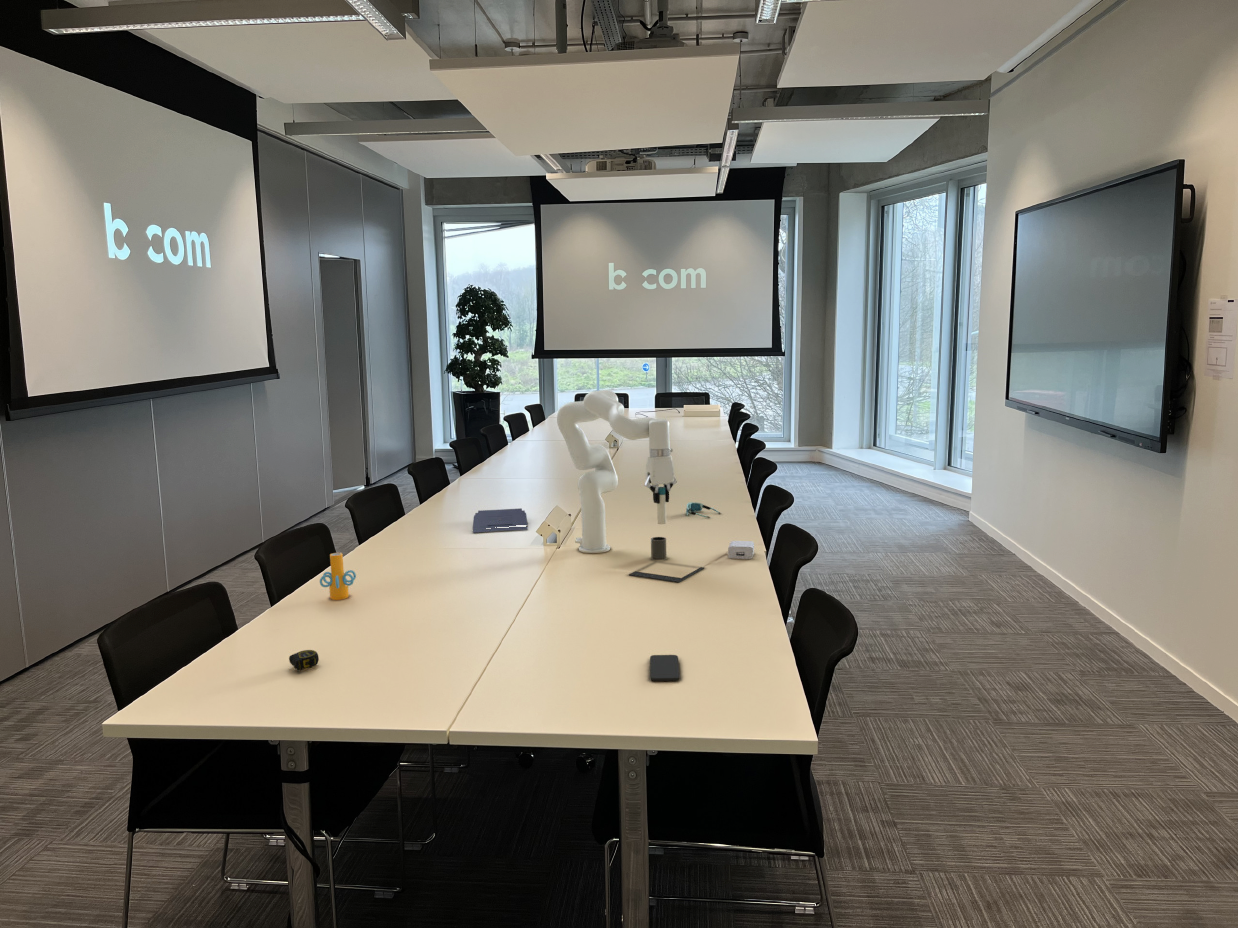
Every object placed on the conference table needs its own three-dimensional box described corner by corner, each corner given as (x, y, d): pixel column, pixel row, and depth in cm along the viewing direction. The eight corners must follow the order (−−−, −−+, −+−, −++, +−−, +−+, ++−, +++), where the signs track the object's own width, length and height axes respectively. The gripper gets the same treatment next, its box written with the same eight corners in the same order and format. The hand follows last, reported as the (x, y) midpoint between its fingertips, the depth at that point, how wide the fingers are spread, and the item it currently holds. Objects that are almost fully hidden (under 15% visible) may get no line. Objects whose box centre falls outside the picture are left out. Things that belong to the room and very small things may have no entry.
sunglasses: (695, 509, 410) (696, 499, 408) (722, 517, 401) (723, 507, 400) (680, 515, 398) (681, 505, 397) (707, 522, 390) (708, 512, 389)
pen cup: (648, 560, 323) (648, 539, 321) (656, 556, 328) (655, 536, 326) (661, 561, 320) (661, 541, 318) (669, 558, 325) (668, 537, 323)
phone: (650, 678, 210) (649, 654, 225) (650, 681, 211) (650, 657, 225) (680, 677, 210) (677, 654, 225) (680, 681, 210) (678, 657, 225)
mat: (628, 575, 303) (628, 574, 303) (656, 561, 320) (656, 560, 320) (678, 582, 292) (678, 581, 292) (704, 568, 309) (704, 567, 309)
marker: (655, 523, 314) (654, 488, 312) (660, 522, 317) (659, 486, 315) (663, 524, 312) (662, 488, 310) (667, 522, 315) (666, 487, 313)
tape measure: (289, 666, 227) (287, 652, 226) (315, 660, 231) (314, 646, 230) (295, 674, 221) (294, 660, 221) (322, 667, 225) (321, 654, 224)
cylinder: (364, 594, 289) (361, 551, 287) (345, 603, 279) (341, 559, 277) (334, 591, 293) (331, 549, 291) (314, 600, 283) (310, 557, 281)
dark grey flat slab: (526, 513, 406) (525, 506, 405) (528, 535, 377) (527, 527, 376) (474, 516, 402) (474, 509, 401) (472, 538, 374) (472, 530, 373)
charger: (755, 549, 334) (752, 559, 320) (731, 548, 336) (728, 558, 322) (755, 537, 334) (752, 546, 319) (731, 536, 336) (728, 546, 321)
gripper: (673, 450, 318) (674, 498, 320) (635, 454, 310) (636, 503, 312) (684, 451, 311) (685, 501, 314) (645, 456, 303) (647, 506, 306)
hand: (661, 501), depth 313 cm, fingers closed on marker, 3 cm apart
